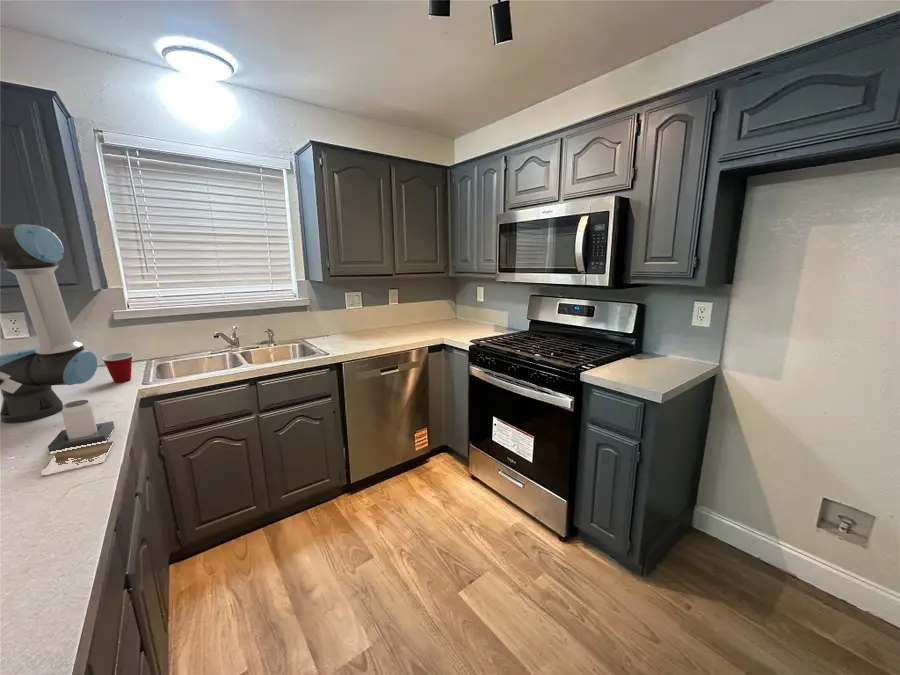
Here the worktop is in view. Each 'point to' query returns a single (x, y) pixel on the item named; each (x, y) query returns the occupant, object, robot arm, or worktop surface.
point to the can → (79, 419)
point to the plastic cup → (119, 366)
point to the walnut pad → (83, 453)
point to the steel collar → (63, 441)
